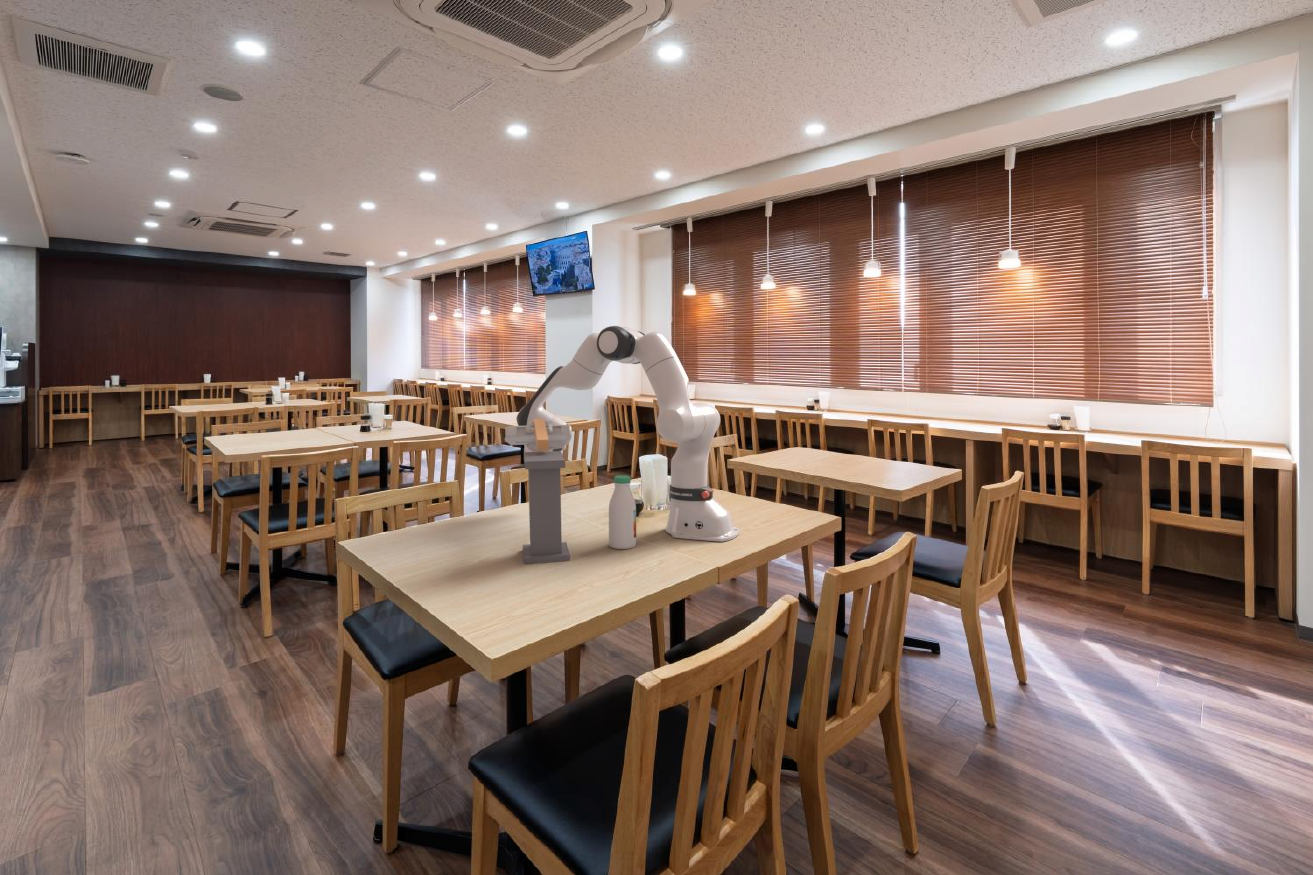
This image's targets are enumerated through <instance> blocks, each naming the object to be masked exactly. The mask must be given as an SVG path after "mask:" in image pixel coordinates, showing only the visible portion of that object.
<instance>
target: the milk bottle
mask: <svg viewBox="0 0 1313 875" xmlns="http://www.w3.org/2000/svg"><path fill="white" fill-rule="evenodd" d="M631 479H632V478H631V476H630V475H626V474H622V475H621V474H619V475H615V476H614V478H613V484H614V488H613V493H612V495H611V498H610V500H609V504H608V545H609V547H610V548H612V549H615V550H629V549H632V548H635V547H636V546H637V505H636V501H635V498H634V495H633V494H632V491H631V487H630V486H631V481H632V480H631Z"/></svg>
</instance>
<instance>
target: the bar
mask: <svg viewBox="0 0 1313 875" xmlns="http://www.w3.org/2000/svg"><path fill="white" fill-rule="evenodd" d="M534 432H535V438H536V445H537V451H549V439H548V435H547V430H546V426H545V422H544V419H534Z"/></svg>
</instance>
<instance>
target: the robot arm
mask: <svg viewBox="0 0 1313 875" xmlns="http://www.w3.org/2000/svg"><path fill="white" fill-rule="evenodd" d="M679 358H680V357H678V354H677V353H676V351H675V350H674V347H673V346H672V345H671V343H670V342H669V340H668V339H667V338H666V336H664V335H663V333H661V332H658V331H652V332H647V333H646V334H645V333H643V332H641V331H639V330H636V329H633V328H630V327H626V326H625V327H623V326H619V325H610V326H607V327H605V328H603V329H601V331H600V332H594V333H590V334H589V335H588V336H587V337H586V338H585V339H584V341H583V342H582V343H581V345H580V346H579V347H578V349H577V350H576V351H575V354H574V356H573V358H572V359H571V360H570V362H569V363H567V364H566V365H564V366H562V365H560V366H558V367H557V368H555V369H554V370H553V371H552V372H551V373H550V374H549V375H548V377H547V378H546V379H545V380H544V381H543V383H542V384H541V385H540V387H538V389H537V390H536V392H535V393H534V394H533V395H532V396H531V398H530V399H529V400H528V401H527V402H526V404H525V405H524V406H522V407H521V408H520V410H519V411H518V413H517V415H516V423H517V425H508V426H506V427H505V429H504V430H505V433H504V434H505V437H504V442H505V443H507V444H508V445H512V446H517V445H519V446H520V445H521V446H522V445H523V446H524V448H523V453H524V452H547V451H537V445H536V438H535V432H534V419H544V422H545V426H546V430H547V435H548V439H549V451H561V452H562V451H565V450H567V446H568V445H569V443H570V442H571V441H572V440H571V439H572V438H573V437H572V436H573V430H572V426H571V425H570V424H569V423H567V422H566V421H564V420H562V419H561V418H560V417H558V416H557V415H555V414H553V413H552V412H550V411H548V410H546V409H545V408H544V404H545V402H546V401H547V400H548V398H550V396H551V395H552V394H553V392H554V391H555V390H556V389H557V388H564V389H565V388H566V389H570V390H574V391H587V390H588V391H589V390H591V389H593V388H595V387H596V386H597V384H598V383H599V382H600V380H601V379H602V377H603V375H604V373H605V372H606V370H607V368H608V367H609V365H610V363H611V362H618V363H619V364H620V363H621V364H628V365H629V364H630V365H631V364H632V365H638V364H640V365H641V366H642V368H643V370H644V372H645V375H646V377H647V379H648V381H649V383H650V385H651V388H652V390H653V392H654V394H655V396H656V401H657V406H658V416H657V418H656V429H657V432H658V435H659V436H660V437H661V438H662V439H663V440H665V441H667V442H671V443H678V445H677V448H676V451H675V453H674V455H673V456H672V458H671V460H670V485H669V489H668V490H669V493H668V494H669V495H668V496H669V497H668V498H669V502H670V503H669V511H668V518H667V521H666V522H667V523H666V526H665V532H666V533H668V534H670V535H671V536H672V538H675V539H686V540H696V541H698V540H699V541H709V542H710V541H711V542H721V543H722V542H727V541H731V540H733V539H735V538H736V537H737V536H738V535H739V534H740V529H739V528H738V527H737V526H736V527H735V526H733V522H732V516H731V513H730V512H729V510H728V509H726V508H725V507H724V506H723V505H721V504H720V502H718V501H717V500H716V499H714V497H713V496H714V493H715V492H716V491H715V490H716V489H715V487H714V488H711V487H710V486H709V485H708V468H709V467H708V465H709V464H708V463H709V456H710V453H711V452H710V451H711V448H712V445H713V444H712V443H713V440H714V436H715V434H716V432H717V431H718V430H719V428H720V424H721V415H720V412H719V411H718V409H717V408H716V407H715V406H714V405H712V404H708V403H704V402H696V403H695V402H694V403H692V402H691V399H690V395H689V391H688V387H689V385H690V379H689V377H688V375H687V372H686V371H685V368H684V367H683V364H682V363H681V360H680V359H679Z"/></svg>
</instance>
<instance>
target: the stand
mask: <svg viewBox="0 0 1313 875" xmlns="http://www.w3.org/2000/svg"><path fill="white" fill-rule="evenodd" d="M523 463H524V469H525V470H528V471H527V473H528V474H527V476H528V511H529V512H528V516H529V518H528V519H529V544H522V559H523V560H522V562H523V563H527V564H538V562H542V563H553V562H555V563H556V562H567V561H568V562H570V561H571V553H570V551H569V550H570V549H569V547H568V546H569V545H568V543H567V542H566V541H565V542H564V541H562V495H561V494H562V493H561V492H562V491H561V489H562V487H561V483H562V481H561V469H566V459H565V457H564V455H563V453H562V451H547V452H524V451H523Z"/></svg>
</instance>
